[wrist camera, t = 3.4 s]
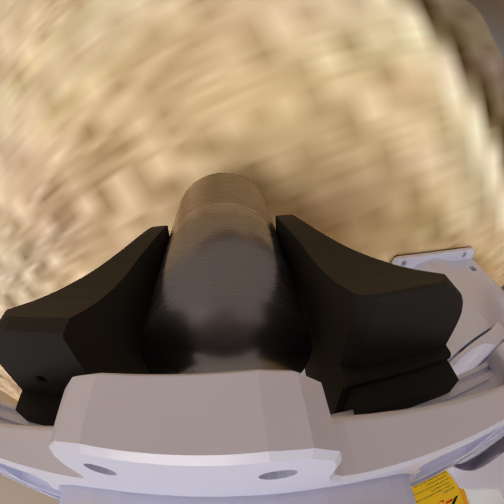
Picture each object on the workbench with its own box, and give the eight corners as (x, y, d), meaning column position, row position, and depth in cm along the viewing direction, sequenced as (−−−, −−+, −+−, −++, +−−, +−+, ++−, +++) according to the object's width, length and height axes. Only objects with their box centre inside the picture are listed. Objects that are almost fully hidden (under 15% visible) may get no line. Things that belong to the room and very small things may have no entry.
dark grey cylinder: (265, 169, 12) (320, 284, 6) (268, 249, 14) (304, 393, 8) (173, 178, 12) (116, 301, 5) (186, 256, 14) (166, 403, 7)
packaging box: (427, 437, 54) (454, 511, 33) (370, 462, 56) (392, 539, 35) (436, 418, 46) (471, 508, 24) (368, 449, 48) (395, 544, 26)
